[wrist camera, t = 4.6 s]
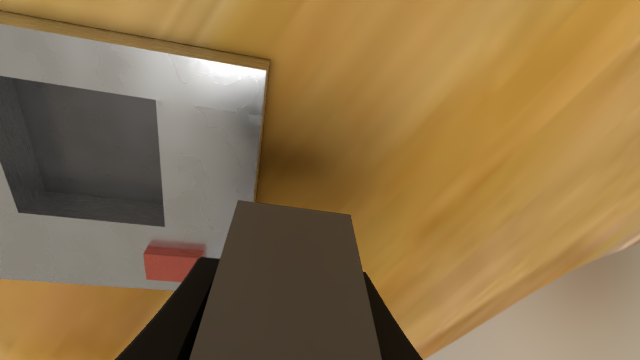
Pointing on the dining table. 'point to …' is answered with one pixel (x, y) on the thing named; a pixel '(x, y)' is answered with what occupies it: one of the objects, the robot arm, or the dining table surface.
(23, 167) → the socket
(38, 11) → the dining table surface
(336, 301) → the plug
